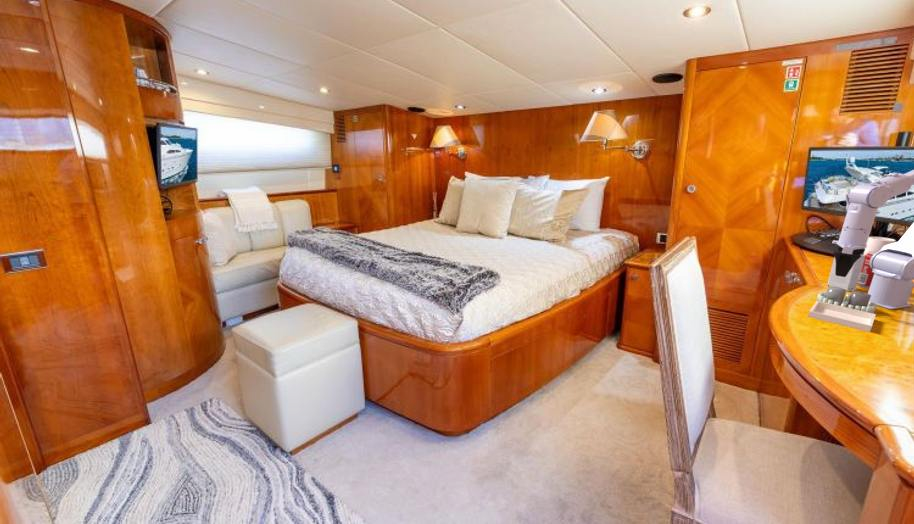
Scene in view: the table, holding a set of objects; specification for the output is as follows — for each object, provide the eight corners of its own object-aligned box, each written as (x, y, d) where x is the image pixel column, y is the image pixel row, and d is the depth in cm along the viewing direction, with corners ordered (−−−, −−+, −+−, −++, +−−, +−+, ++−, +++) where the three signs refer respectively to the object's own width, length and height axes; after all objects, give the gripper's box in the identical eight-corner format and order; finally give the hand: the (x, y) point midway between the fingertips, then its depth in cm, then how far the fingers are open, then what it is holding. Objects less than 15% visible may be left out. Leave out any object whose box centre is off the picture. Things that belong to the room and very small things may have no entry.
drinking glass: (887, 282, 137) (902, 241, 132) (868, 281, 137) (882, 240, 132) (868, 275, 143) (881, 236, 139) (850, 275, 143) (862, 236, 139)
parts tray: (814, 307, 113) (816, 300, 113) (873, 321, 105) (875, 314, 104) (807, 318, 106) (809, 311, 106) (869, 334, 98) (872, 326, 97)
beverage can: (886, 291, 128) (898, 256, 124) (863, 289, 129) (875, 255, 125) (870, 284, 134) (882, 251, 130) (849, 283, 135) (860, 250, 131)
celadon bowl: (819, 296, 122) (821, 288, 122) (875, 308, 113) (878, 300, 113) (812, 306, 115) (814, 297, 114) (872, 319, 106) (875, 311, 105)
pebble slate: (829, 299, 118) (834, 286, 117) (845, 304, 114) (850, 290, 113) (820, 301, 117) (824, 287, 116) (836, 306, 113) (840, 291, 112)
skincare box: (855, 290, 128) (867, 255, 125) (846, 291, 127) (858, 256, 123) (834, 284, 134) (844, 250, 130) (825, 285, 132) (835, 251, 129)
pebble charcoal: (852, 304, 115) (856, 290, 113) (869, 309, 111) (874, 295, 110) (843, 306, 113) (848, 291, 112) (860, 311, 110) (865, 296, 108)
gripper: (840, 223, 117) (827, 265, 121) (833, 228, 108) (819, 275, 111) (874, 226, 111) (859, 271, 115) (869, 233, 102) (853, 281, 106)
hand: (842, 273), depth 113 cm, fingers open, 7 cm apart
